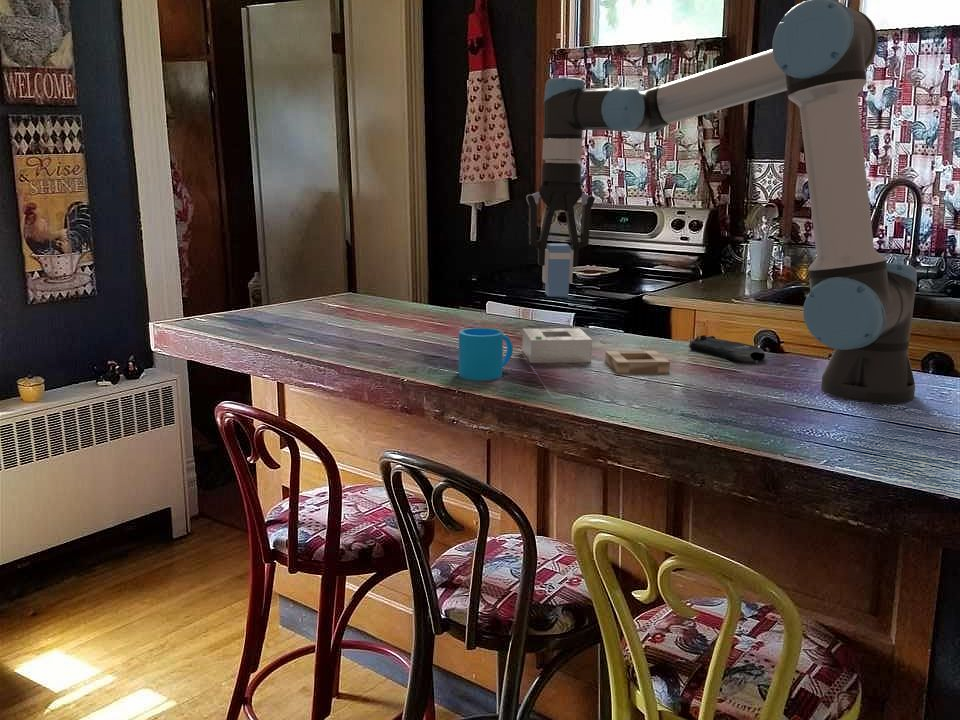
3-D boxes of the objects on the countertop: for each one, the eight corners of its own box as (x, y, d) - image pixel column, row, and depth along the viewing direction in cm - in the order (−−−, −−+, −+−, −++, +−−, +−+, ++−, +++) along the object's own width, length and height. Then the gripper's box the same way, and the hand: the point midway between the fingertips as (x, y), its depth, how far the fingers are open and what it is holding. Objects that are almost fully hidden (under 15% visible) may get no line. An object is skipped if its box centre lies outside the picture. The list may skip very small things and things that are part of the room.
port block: (591, 364, 180) (592, 337, 179) (530, 365, 179) (531, 338, 177) (578, 351, 191) (579, 326, 190) (522, 352, 190) (522, 326, 189)
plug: (568, 296, 181) (570, 245, 178) (548, 296, 180) (549, 245, 178) (564, 293, 185) (566, 243, 182) (544, 293, 184) (546, 243, 182)
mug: (478, 382, 165) (479, 338, 163) (449, 374, 171) (449, 331, 169) (526, 372, 173) (527, 330, 171) (497, 365, 179) (497, 324, 177)
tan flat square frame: (669, 374, 172) (670, 361, 172) (617, 375, 171) (617, 362, 171) (654, 362, 182) (655, 350, 182) (604, 363, 181) (605, 351, 181)
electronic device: (685, 361, 192) (746, 364, 180) (686, 334, 192) (747, 336, 180) (713, 361, 198) (773, 364, 186) (714, 335, 198) (775, 337, 186)
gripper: (600, 162, 181) (595, 279, 186) (514, 160, 179) (511, 279, 185) (609, 162, 174) (603, 285, 179) (520, 161, 172) (516, 284, 177)
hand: (557, 281), depth 182 cm, fingers closed on plug, 4 cm apart
